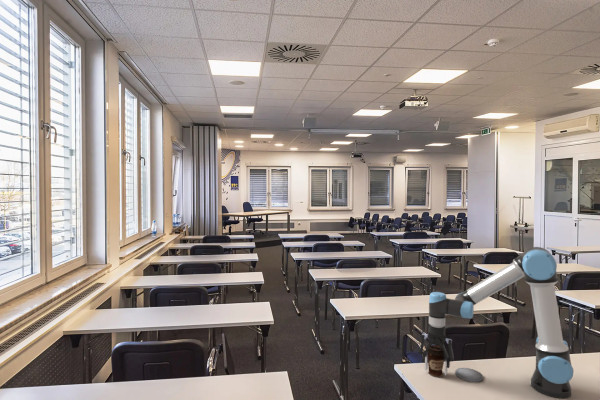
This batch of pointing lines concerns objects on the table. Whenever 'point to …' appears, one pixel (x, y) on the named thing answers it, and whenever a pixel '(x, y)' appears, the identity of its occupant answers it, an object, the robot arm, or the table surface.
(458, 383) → the table surface
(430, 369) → the coffee cup
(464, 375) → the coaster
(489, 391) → the table surface
